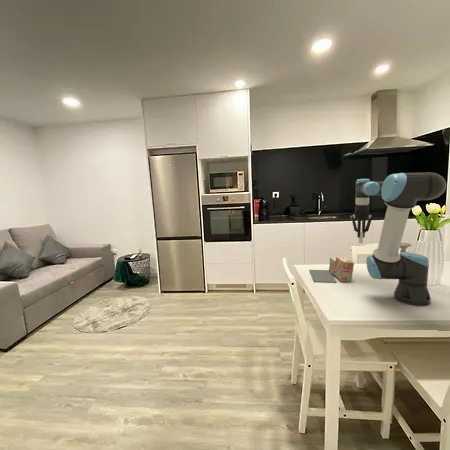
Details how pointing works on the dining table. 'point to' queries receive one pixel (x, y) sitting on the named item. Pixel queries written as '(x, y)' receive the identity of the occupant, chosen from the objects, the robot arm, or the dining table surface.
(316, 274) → the mat
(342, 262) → the stack of blocks
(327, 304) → the dining table surface
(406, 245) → the candle holder
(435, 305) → the dining table surface
